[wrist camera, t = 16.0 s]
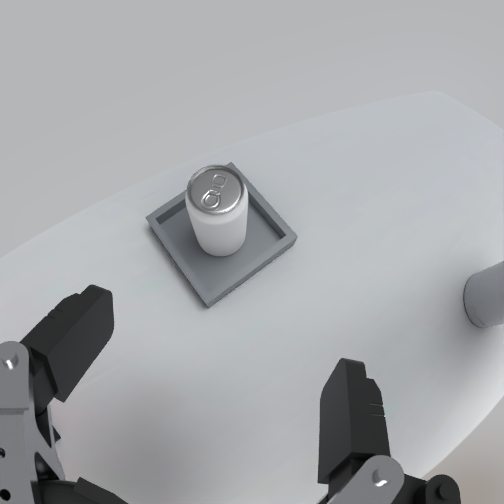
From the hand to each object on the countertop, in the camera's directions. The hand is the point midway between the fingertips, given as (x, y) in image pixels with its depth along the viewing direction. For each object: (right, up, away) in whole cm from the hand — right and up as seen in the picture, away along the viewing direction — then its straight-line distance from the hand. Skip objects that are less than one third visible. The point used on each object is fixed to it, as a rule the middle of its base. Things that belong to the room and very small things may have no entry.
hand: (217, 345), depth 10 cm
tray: (-3, +5, +32) cm, 32 cm away
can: (-3, +5, +31) cm, 32 cm away
